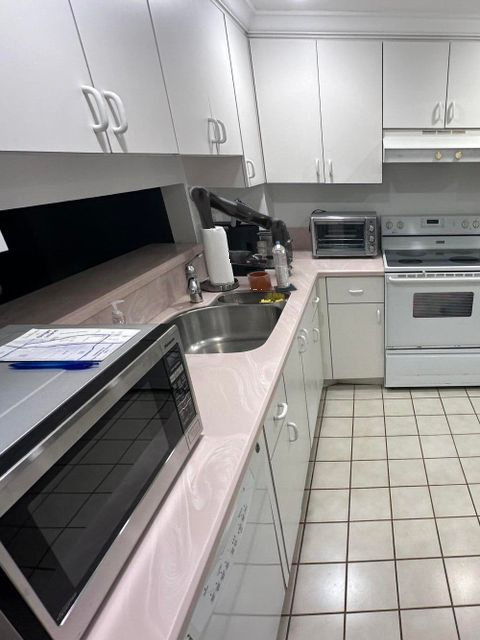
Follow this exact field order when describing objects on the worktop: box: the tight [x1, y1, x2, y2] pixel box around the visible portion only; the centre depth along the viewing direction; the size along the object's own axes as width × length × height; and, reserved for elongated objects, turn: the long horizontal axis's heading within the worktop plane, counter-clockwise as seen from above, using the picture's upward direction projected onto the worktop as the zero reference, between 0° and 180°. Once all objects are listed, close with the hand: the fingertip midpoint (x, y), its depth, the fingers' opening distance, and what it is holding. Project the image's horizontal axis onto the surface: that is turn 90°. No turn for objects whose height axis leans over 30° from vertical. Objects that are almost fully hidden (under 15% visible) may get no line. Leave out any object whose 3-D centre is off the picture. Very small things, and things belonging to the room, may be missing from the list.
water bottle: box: [271, 242, 291, 289], centre depth 207 cm, size 7×7×25 cm
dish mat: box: [273, 283, 298, 294], centre depth 213 cm, size 11×10×1 cm
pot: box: [246, 270, 273, 293], centre depth 212 cm, size 11×11×8 cm
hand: (270, 259), depth 206 cm, fingers open, 8 cm apart
